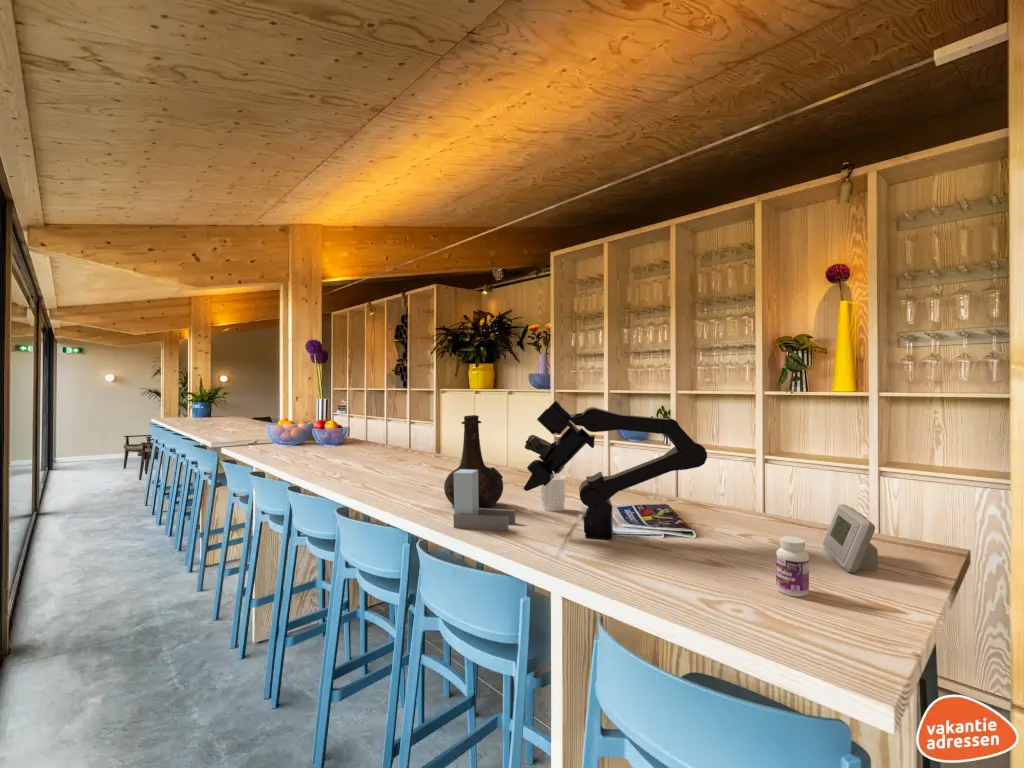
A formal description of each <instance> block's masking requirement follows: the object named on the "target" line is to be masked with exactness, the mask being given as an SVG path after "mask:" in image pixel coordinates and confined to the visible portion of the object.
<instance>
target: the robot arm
mask: <svg viewBox="0 0 1024 768" xmlns="http://www.w3.org/2000/svg"><path fill="white" fill-rule="evenodd" d="M536 420H537V422H539V423H540V425H542V426H543V427H544V428H545V429H546V430H547V431H548V432H549V433H550V434H552V435H554V434H556V435H561V433H562V432H564V431H565V432H564V433H563V434H562V435H561V436H560V437H559V438H557V440H554V441H553V442H549V441H547V440H545V439H544V438H541V437H539V436H537V435H534V434H530V435H529V436H528V438H527V440H526V441H525V445H524V449H526V450H527V451H531V452H534V453H535V454H537V455H539V456H538V458H539V459H534V460H533V461H531V462H530V463H529V464H528V466H527V467H526V469H527V470H528V471H529V472H530V473H531V475H530V476H529V478H528V480H527V482H526V483H525V485H524V486H523V490H524V491H526V492H529V491H530V490H533V489H536V488H539V486H541V485H544V486H546V485H547V484H548V483H549V482H550V481H551V480H552V479H553V478H554V476H553V475H560V473H561V472H562V471H563V470H564V469H565V466H566V465H567V464H568V463H569V462H570V461H571V460H572V459H573V458H574V456H575V455H576V454H578V453H579V451H581V449H582V448H584V447H585V446H586V444H587V445H588V446H589V447H590V448H591V449H594V448H595V439H596V435H594V434H593V435H592V434H589V433H588V432H590V433H600V432H601V433H603V432H611V431H630V432H639V433H649V434H661V435H666V436H667V439H669V441H670V442H671V443H672V445H673V446H674V447H672V448H671V449H670V450H669V451H666V452H665V453H664V454H663V455H660V456H657V457H655V458H653V459H651V460H648V461H646V462H643V463H640V464H638V465H635V466H633V467H630V468H628V469H625V470H622V471H620V472H618V473H615V474H612V475H604V476H603V473H602V471H598V472H597V473H595V474H594V475H591V476H585V478H586V479H585V480H583V481H582V482H581V484H580V485H579V488H578V489H579V490H578V492H579V499H580V501H581V503H582V504H583V505H585V506H586V507H587V508H586V511H585V514H584V516H583V533H584V538H587V539H589V538H590V539H603V540H612V538H613V536H614V533H615V530H614V526H613V525H614V524H613V523H614V522H613V520H614V516H613V515H614V514H613V513H614V512H613V511H614V510H613V505H612V502H611V501H612V500H611V498H612V497H613V496H614V495H617V493H619V492H621V491H624V490H627V489H628V488H631V487H635V486H637V485H639V484H641V483H644V482H647V481H650V480H652V479H654V478H657V477H660V476H662V475H665V474H668V473H670V472H673V471H685V470H691V469H696V468H700V467H702V466H703V465H705V463H706V461H707V459H708V453H707V450H706V448H705V447H704V446H703V445H702V444H700V443H698V442H697V441H695V440H693V439H692V438H691V437H690V435H688V434H687V433H686V432H685V430H683V428H682V427H681V426H680V425H679V423H678V422H677V421H676V420H675V419H673V418H670V417H654V416H643V415H642V416H641V415H631V414H622V413H621V414H620V413H616V412H613V411H609V410H606V409H602V408H599V407H595V406H594V407H593V406H592V407H591V406H590V407H588V408H586V409H584V410H583V412H580V413H573V414H570V413H569V412H568V411H567V410H566V409H565V408H563V406H561V403H559V402H558V401H557V400H554V401H553V402H552V404H550V406H549V407H548V408H545V410H544V411H543V412H542V413H541V414H540V415H539V416H538V417H537V419H536ZM577 426H580V428H578V427H577ZM582 427H583V428H582ZM566 429H567V430H566ZM586 431H588V432H586ZM554 473H555V474H554ZM613 530H614V531H613ZM613 532H614V533H613Z"/></svg>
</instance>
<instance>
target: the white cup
mask: <svg viewBox="0 0 1024 768" xmlns="http://www.w3.org/2000/svg"><path fill="white" fill-rule="evenodd" d="M553 476H554V478H553V479H552V480H551V481H550V482H549V483H548V484H547V485H546V486H544V485H541V486H538V488H539V501H540V509H541V510H542V511H545V512H559V511H564V510H565V500H566V483H567V482H566V478H567V477H566V476H564V475H561V474H553Z"/></svg>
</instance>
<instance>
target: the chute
mask: <svg viewBox="0 0 1024 768" xmlns="http://www.w3.org/2000/svg"><path fill="white" fill-rule="evenodd" d="M510 524H511V525H515V524H516V509H504V508H503V509H502V508H479V515H473V514H456V513H455V514H454V513H453V529H470V530H482V531H495V532H497V531H498V532H508V531H509V525H510Z"/></svg>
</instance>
